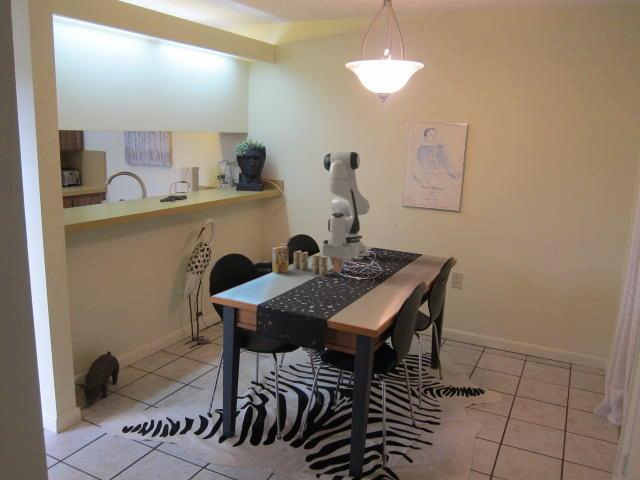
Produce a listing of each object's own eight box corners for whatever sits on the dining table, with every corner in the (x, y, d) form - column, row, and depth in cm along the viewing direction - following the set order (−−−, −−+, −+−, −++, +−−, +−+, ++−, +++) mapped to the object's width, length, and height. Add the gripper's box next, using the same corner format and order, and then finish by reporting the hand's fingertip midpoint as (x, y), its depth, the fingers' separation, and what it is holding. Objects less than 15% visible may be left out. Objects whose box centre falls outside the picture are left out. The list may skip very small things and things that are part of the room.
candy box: (284, 271, 298) (284, 245, 295) (289, 272, 295) (288, 246, 292) (272, 274, 293) (271, 247, 290) (276, 275, 289) (276, 249, 286)
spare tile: (333, 273, 295) (333, 256, 293) (335, 272, 296) (335, 255, 294) (339, 274, 292) (340, 257, 290) (341, 274, 293) (341, 256, 291)
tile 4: (318, 271, 293) (318, 254, 291) (320, 272, 292) (320, 254, 290) (312, 273, 290) (312, 256, 288) (314, 273, 289) (314, 256, 287)
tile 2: (305, 268, 300) (305, 251, 298) (307, 269, 299) (307, 252, 297) (299, 270, 296) (299, 253, 294) (301, 270, 295) (301, 253, 293)
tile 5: (325, 273, 290) (325, 255, 288) (327, 273, 289) (327, 256, 287) (319, 274, 286) (319, 257, 284) (321, 275, 285) (321, 257, 283)
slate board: (302, 267, 307) (302, 265, 306) (332, 274, 291) (332, 272, 291) (287, 271, 298) (287, 269, 298) (318, 279, 282) (318, 277, 282)
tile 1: (299, 267, 303) (299, 250, 301) (301, 267, 302) (301, 251, 300) (293, 268, 299) (293, 252, 297) (295, 269, 298) (295, 252, 296)
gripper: (355, 243, 286) (355, 267, 288) (327, 238, 299) (327, 261, 302) (348, 245, 281) (348, 269, 284) (320, 240, 294) (320, 263, 297)
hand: (337, 265), depth 293 cm, fingers closed on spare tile, 5 cm apart
